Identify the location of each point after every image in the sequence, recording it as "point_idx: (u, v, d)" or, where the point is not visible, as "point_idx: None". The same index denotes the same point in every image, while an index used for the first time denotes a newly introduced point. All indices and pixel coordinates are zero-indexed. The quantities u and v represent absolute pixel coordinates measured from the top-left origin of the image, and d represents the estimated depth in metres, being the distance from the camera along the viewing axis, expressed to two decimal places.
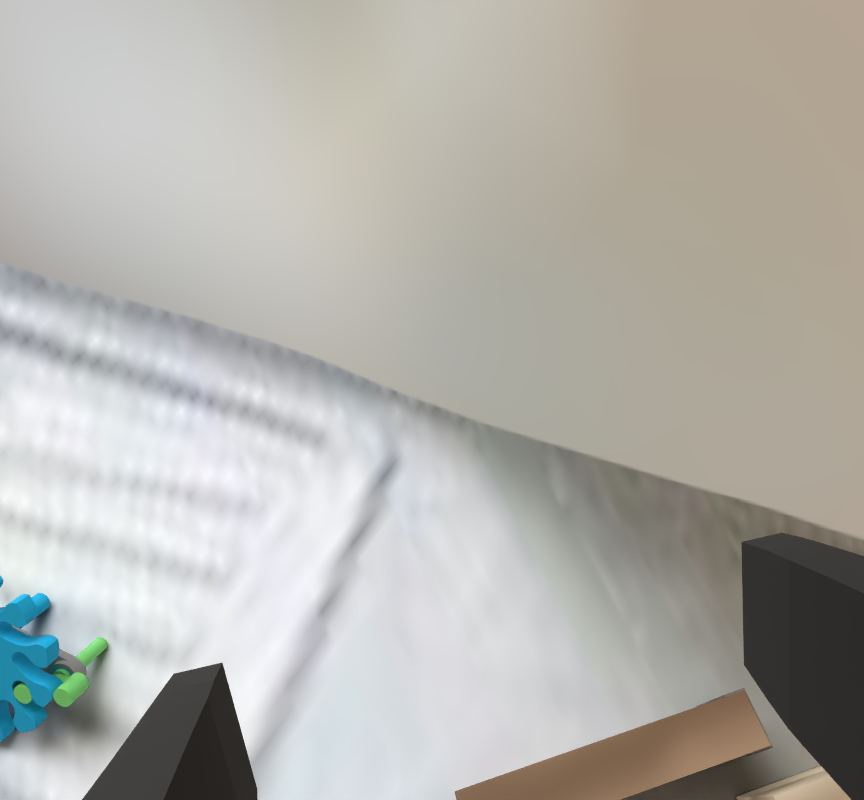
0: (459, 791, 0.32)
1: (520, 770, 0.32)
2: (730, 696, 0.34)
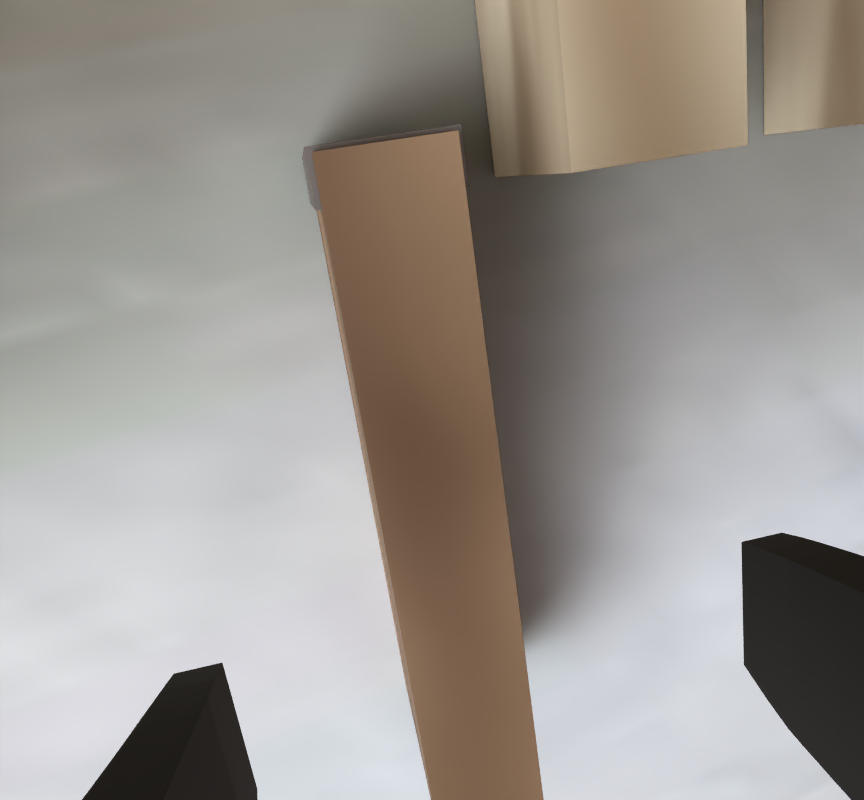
0: None
1: (419, 713, 0.15)
2: (323, 198, 0.12)
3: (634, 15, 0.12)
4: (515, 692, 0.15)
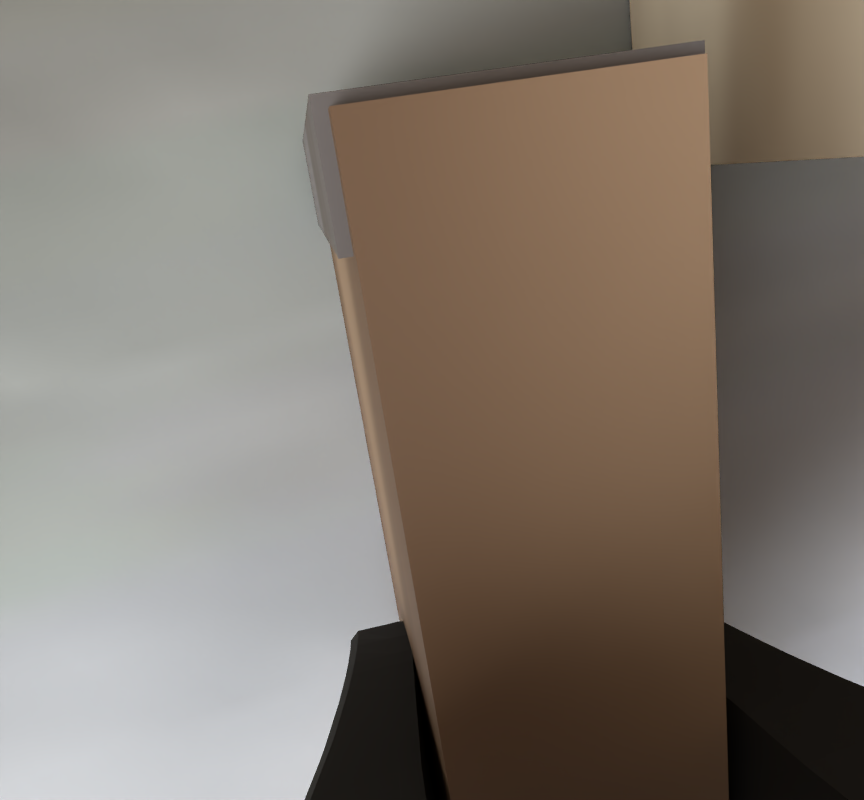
0: None
1: None
2: (359, 230, 0.05)
3: None
4: None
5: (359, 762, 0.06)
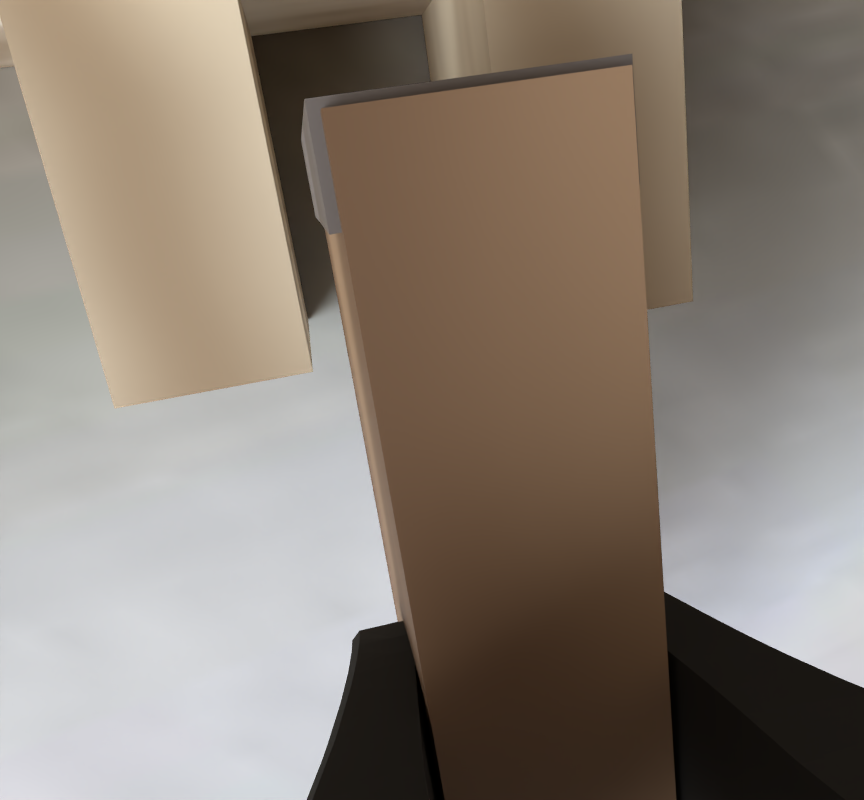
0: None
1: None
2: (345, 210, 0.06)
3: (158, 255, 0.11)
4: None
5: (361, 761, 0.06)
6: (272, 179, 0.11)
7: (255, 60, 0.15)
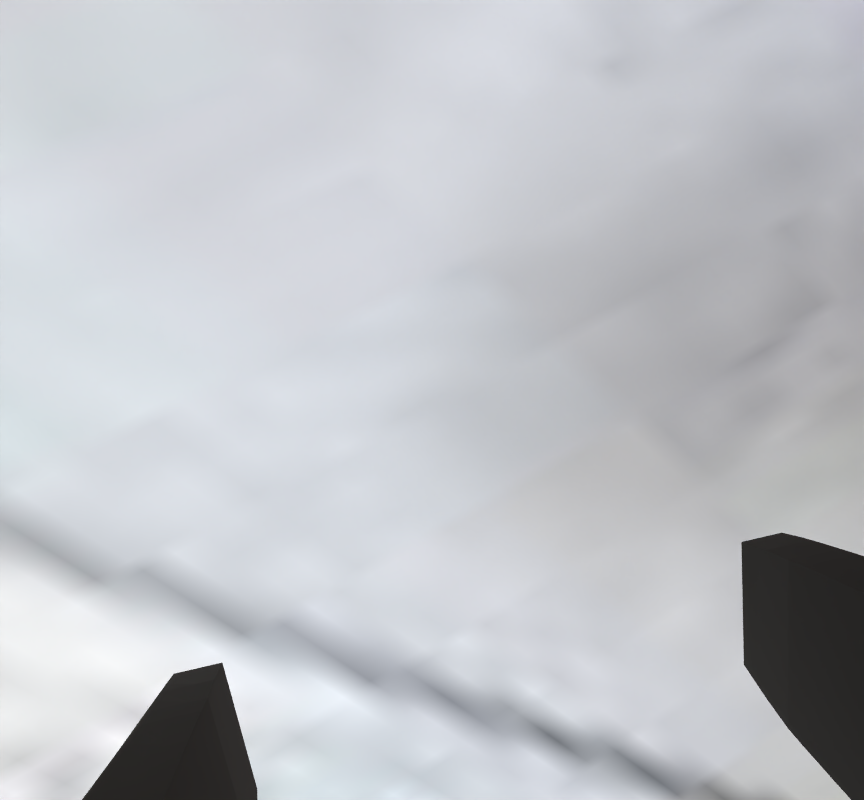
0: None
1: None
2: None
3: None
4: None
5: None
6: None
7: None
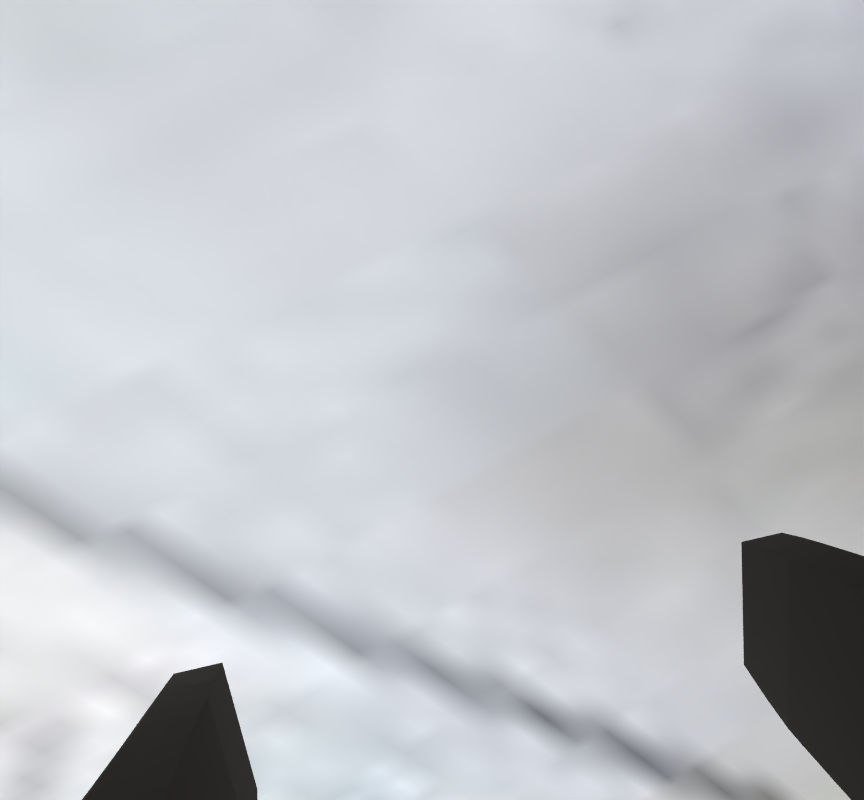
0: None
1: None
2: None
3: None
4: None
5: None
6: None
7: None
